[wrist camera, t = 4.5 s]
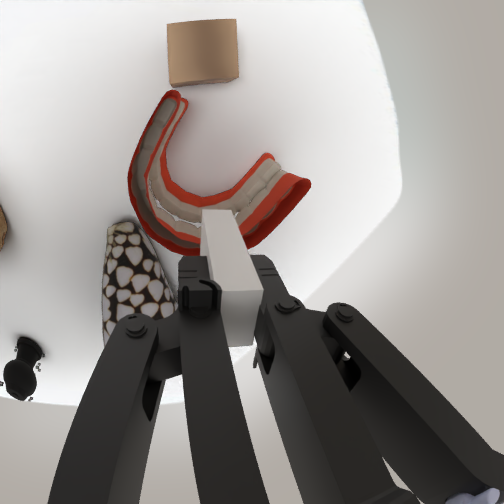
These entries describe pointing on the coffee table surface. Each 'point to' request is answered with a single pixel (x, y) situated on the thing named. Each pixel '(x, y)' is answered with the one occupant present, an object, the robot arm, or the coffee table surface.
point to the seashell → (132, 278)
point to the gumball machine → (22, 370)
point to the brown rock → (2, 228)
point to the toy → (190, 205)
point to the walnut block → (202, 52)
